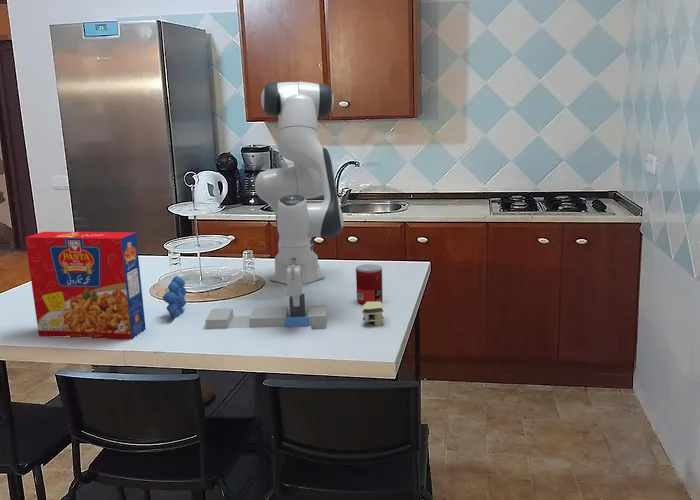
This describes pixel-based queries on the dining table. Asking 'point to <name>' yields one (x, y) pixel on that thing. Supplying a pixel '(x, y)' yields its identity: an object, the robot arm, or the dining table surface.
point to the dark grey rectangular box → (298, 310)
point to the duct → (266, 318)
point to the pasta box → (86, 284)
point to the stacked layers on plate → (373, 312)
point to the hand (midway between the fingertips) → (297, 302)
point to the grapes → (175, 297)
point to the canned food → (369, 283)
